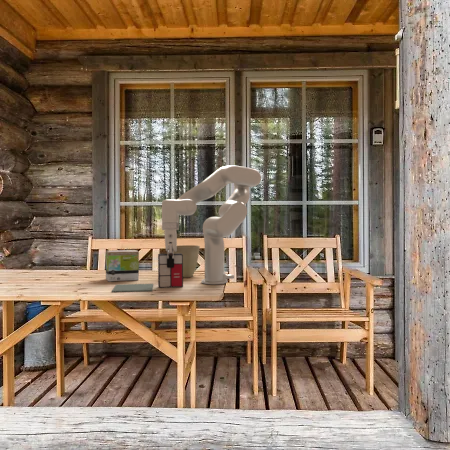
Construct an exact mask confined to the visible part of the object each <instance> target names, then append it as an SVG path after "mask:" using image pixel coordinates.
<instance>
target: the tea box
mask: <svg viewBox="0 0 450 450" xmlns="http://www.w3.org/2000/svg"><path fill="white" fill-rule="evenodd" d="M139 259H140V252H139V251H138V250H137V249H112V250H109V249H108V250H105V279H106V280H107V282H118V281H119V282H120V281H125V282H126V281H127V282H128V281H139V276H140V275H139V273H140V269H139V267H140V266H139V263H140V260H139Z"/></svg>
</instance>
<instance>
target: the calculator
mask: <svg viewBox="0 0 450 450" xmlns="http://www.w3.org/2000/svg"><path fill="white" fill-rule="evenodd" d="M167 259H168V257H167V253H158V254H157V263H158V264H157V265H158V266H157V270H158V273H157V274H158V275H157V278H158V279H157V280H158V288H159V289H160V288H161V289H162V288H164V287H167V288H182V287H184V277H183V254H181V253H179V254H174V268H167Z"/></svg>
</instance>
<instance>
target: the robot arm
mask: <svg viewBox="0 0 450 450" xmlns="http://www.w3.org/2000/svg"><path fill="white" fill-rule="evenodd" d="M261 181H262V175H261V173H260V172H259V171H258V170H257V169H255V168H251V167H246V166H239V165H225V166H220V167H219V168H217V169H216V170H215V171H214V172H213V173H211V174H210V175H209V176H207V177H206V178H205V179H204V180H203V181H201V182H200V183H198V184H197V185H195V186H193V187H191V188H190V189H189V190H187V191H186V192H184V193H183V194H181V195H180V196H179V197H178V198H177V199H173V198H172V199H171V198H170V199H169V198H168V199H163V200H162V201H161V230H162V231H164V246H165V252H166V254H167V257H168V259H167V268H174V251H175V252H176V251H177V246H178V235H177V234H178V233H177V231H179V228H180V227H179V225H180V221H179V220H180V219H179V218H180V217H179V216H192V215H194V213H196V211H197V209H198V208H197V207H198V205H197V204H198V203H200V202H203V201H205V200H208V199H211V198H213V197H214V196H215V195H217V193H219V192H220V191H222V189H224V188H225V187H226V186H227V185H228V184H229V185H230V184H234V189H233V192H232V193H231V195H230V196H229V197H228V198H227V199H226V200H225V201H224V203H222V204H221V206H220V207H219V209H218V216H210V217H208V218H206V219H205V220H204V222H203V224H202V233H203V238H204V239H203V240H204V241H203V242H204V278H202V279H201V280H200V281H201V283H202V284H205V285H223V284H227V283H228V280H229V279H232V280H233V279H235V274H227V273H226V272H225V241H224V238H228V237H230V236H231V235H232V234H233V233H234V232H235V231H236V230H237V229H238V228H239V226H240V225H242V223H243V222H244V221H245V219H246V218H247V214H248V207H247V203H248V201H249V199H250V188H253V187H257V186H258V185H259V184H260V183H261Z"/></svg>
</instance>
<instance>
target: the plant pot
mask: <svg viewBox="0 0 450 450" xmlns="http://www.w3.org/2000/svg"><path fill="white" fill-rule="evenodd" d="M200 247H201V246H200V245H197V244H196V245H194V244H191V245H188V244H186V245H185V244H182V245H181V244H179V245H177V251H176V252H175V251H174V254H179V253H181V254H183V278H191V277H193V276H194V275H195V270H196V269H197V268H196V267H197V265H198V260H199V254H200Z"/></svg>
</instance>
